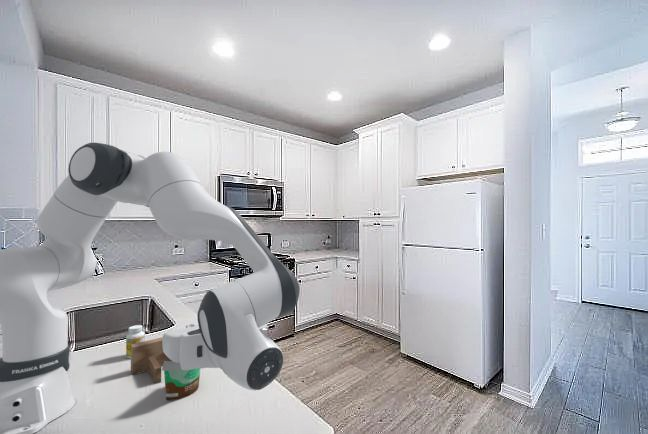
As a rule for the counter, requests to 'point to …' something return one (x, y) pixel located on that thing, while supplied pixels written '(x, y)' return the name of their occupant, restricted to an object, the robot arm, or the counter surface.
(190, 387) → the food container
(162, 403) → the counter surface
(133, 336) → the supplement bottle
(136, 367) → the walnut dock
